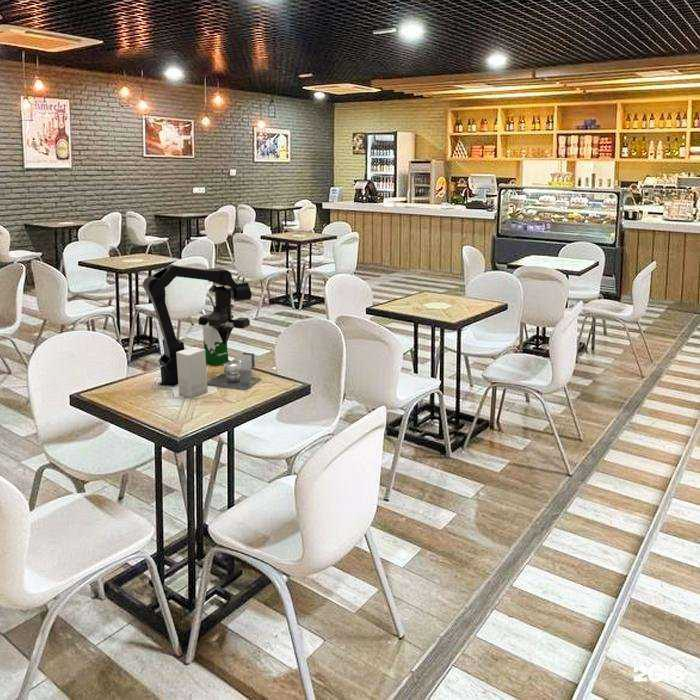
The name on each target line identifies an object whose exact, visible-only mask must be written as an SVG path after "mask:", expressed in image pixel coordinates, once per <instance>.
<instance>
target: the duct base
mask: <svg viewBox="0 0 700 700" xmlns="http://www.w3.org/2000/svg"><path fill="white" fill-rule="evenodd" d="M259 382H261V377H257V376H252V369H251V368H250V369H240V373H238V374H226V373H220V374H218V375H217V376H215V377H213V378H212V379H210V380H207V387H215V388H225V389H232V390H241V391H247V390H248V389H250V388H251V387H253V386H254V385H256V384H258V383H259Z"/></svg>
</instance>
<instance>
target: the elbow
mask: <svg viewBox="0 0 700 700" xmlns="http://www.w3.org/2000/svg"><path fill="white" fill-rule="evenodd" d="M255 364H256V363H255V353H253V352H252V353H251V352H242V354H241V355H239V356H238V357H235V358H233V359H232V361H230V360H229V362H226V363H224V364H223V374H238V373H240V369H251V368H255V366H256V365H255Z"/></svg>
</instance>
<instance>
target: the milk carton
mask: <svg viewBox="0 0 700 700" xmlns="http://www.w3.org/2000/svg"><path fill="white" fill-rule="evenodd" d="M227 322H228V321H227ZM201 328H202V333H203V334H202V335H203V336H202V338H203V349H205V355H206V365H209V366H212V367H213V366H214V367H217V366H218V367H219V366H221V365H224V363H226V362H230V360H229V352H228V343H227V344H223V342H222V339H221V337H220V335H219V333H218V331H217V330H216V329H215V328H213V327H212V326H209V323H207V324H206V325H201Z"/></svg>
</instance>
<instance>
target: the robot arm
mask: <svg viewBox="0 0 700 700" xmlns="http://www.w3.org/2000/svg"><path fill="white" fill-rule="evenodd" d="M176 277H177V278H185V279H194V280H201V281H203V280H204V281H207V282H211V283H214V284H212V286H211V287H209V289H208V291H209V292H211V293H214V302H215V303H214V304H215V306H214V305H213V307H212V308H213V311H212V312H211V313H210V314H204V315H202V316H200V317H199V318H198V321H197V323H198V325H200V326H202V325H206V324H207V323H209V326H212V327H213V328H215V329H216V330H217V331H218V333H219V335H220V337H221V339H222V342H223V344H227V345H228V341H229V338H230V336H231V333H232V331H233V329H234V328H235V329H245V328H247V327H249V326H251V320H250V319H249V317H237V318H236V319H234V315H233V314H232V313H233V312H232V309H233V307H234V304H233V303H232V300H233V301H234V302H243V301H250V300H251V299H252V297H253V295H252V290H251V287H250V286H249V284H250V283H249V282H247V281H242V282H236V281H235V280H234V279H233V275H232V273H231V271H230V270H227V269H224V268H221V267H212V268H198V267H191V266H190V267H189V266H182V265H176V264H171V263H170V264H168V265H167V266H165V267H164V268H163V269H161V270H158V271H157V272H155V273H154V274H153V275H149V276H147V277H146V278H145V279H144V280H143V282H142V288H143V289H144V291H145V293H146V295H147V297H148V299H149V300H150V301H151V304H152V306H153V310H154V312H155V314H156V315H155V316H156V318H157V321H158V325H159V328H160V330H161V334H162V337H163V354H162V355H161V356H160V358H159V359H158V364H159V365H160V367H159V369H160V378H161V381H160V382H159V383H158V385H159V386H167V387H168V386H169V387H176V386H179V385H178V371H177V356H176V352H178V351H182V350H185V349H186V348H185V344H184V341H182V340H181V339H179V338H177V337H176V333H175V330H174V326H173V323H172V320H171V316H170V313H169V310H168V307H167V303H166V288H167V287H168V286H169V285H170V284H171V283H172V282H173V281H174V279H176ZM216 284H218V285H220V286H217V285H216ZM226 286H227V287H226ZM227 321H228V322H227Z"/></svg>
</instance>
